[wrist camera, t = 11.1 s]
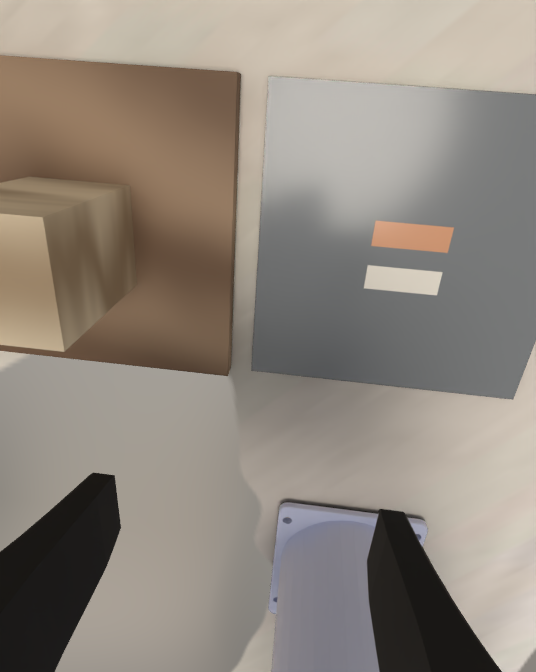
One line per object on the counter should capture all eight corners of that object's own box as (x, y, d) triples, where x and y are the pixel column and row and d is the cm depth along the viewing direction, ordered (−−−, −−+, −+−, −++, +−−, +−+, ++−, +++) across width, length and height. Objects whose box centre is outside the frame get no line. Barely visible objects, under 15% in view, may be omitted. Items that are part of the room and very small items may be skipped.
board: (230, 367, 21) (227, 375, 20) (-12, 340, 22) (-23, 348, 21) (240, 74, 16) (237, 71, 15) (-82, 51, 16) (-101, 48, 16)
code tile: (512, 398, 20) (513, 399, 20) (251, 369, 21) (251, 370, 21) (625, 101, 15) (627, 100, 15) (268, 75, 15) (268, 75, 15)
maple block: (137, 284, 19) (64, 351, 13) (45, 275, 19) (-62, 337, 14) (130, 185, 17) (43, 217, 12) (29, 176, 17) (-103, 204, 12)
